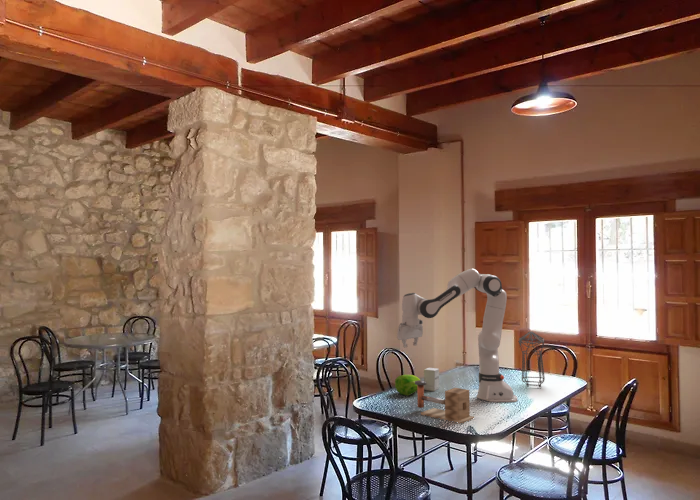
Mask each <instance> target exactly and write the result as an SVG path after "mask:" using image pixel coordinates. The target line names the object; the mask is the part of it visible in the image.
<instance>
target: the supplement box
mask: <svg viewBox="0 0 700 500" xmlns="http://www.w3.org/2000/svg"><path fill="white" fill-rule="evenodd" d="M423 381H426V385H424V391H430V392H436V391H437V390H440V368H436V367H435V368H434V367H427V368H425V369H423Z"/></svg>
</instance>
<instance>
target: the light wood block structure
mask: <svg viewBox="0 0 700 500" xmlns="http://www.w3.org/2000/svg"><path fill="white" fill-rule="evenodd" d="M444 400H445V405H444V409H442V408H441V409H440V408H435V407H432V408H429V409H427V410H423V411H422V412H420V415H422V416H425V415H426V417H429V416H430V418H433V417H434V419H438V418H440V419H439V420H442V419H444V420H443V421H446V420H448V421H447V422H451V421H454V422H453V423H455V422H458V423H457V424H459V423H463V424H465V423H464V422H466V421H468V422H470V421H472V420H474V419H475V416H472V415H471V414H470V413H471V411H470V409H471V408H470V407H471V406H470V405H471V404H470V400H471V399H470V389H464V388H459V387H454V388H451V389H447V390H445V391H444ZM473 418H474V419H473ZM471 419H472V420H471ZM469 420H470V421H469ZM466 423H467V422H466Z"/></svg>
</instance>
